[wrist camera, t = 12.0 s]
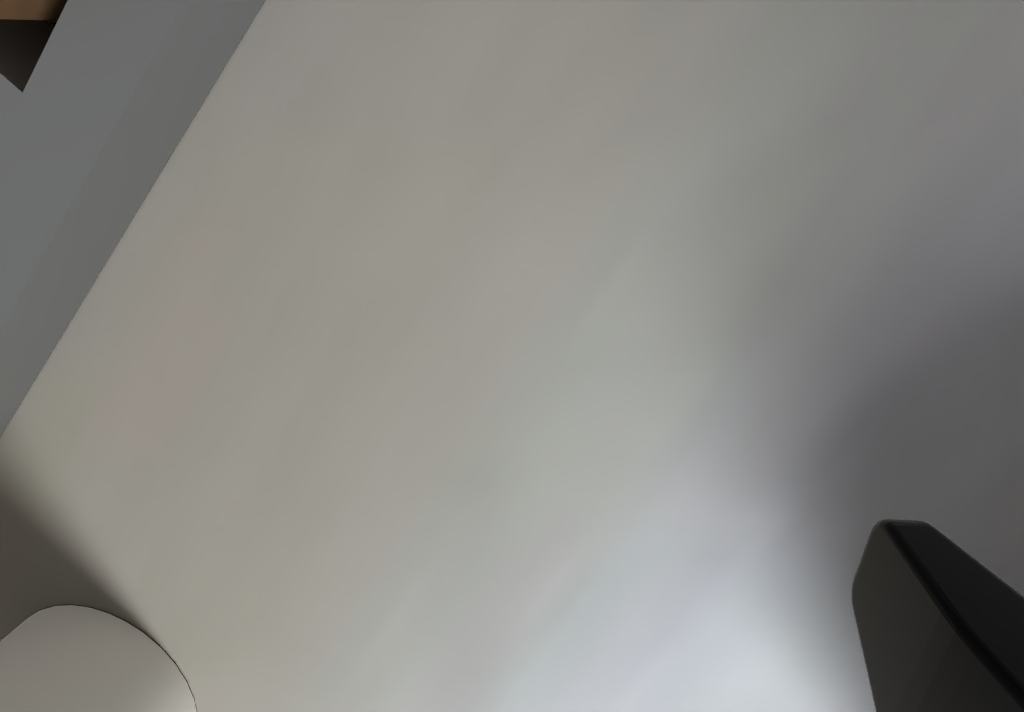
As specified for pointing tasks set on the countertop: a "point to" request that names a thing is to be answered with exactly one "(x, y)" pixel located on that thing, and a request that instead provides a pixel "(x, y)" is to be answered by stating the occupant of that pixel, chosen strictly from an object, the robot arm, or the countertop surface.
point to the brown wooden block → (31, 9)
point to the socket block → (89, 148)
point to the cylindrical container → (87, 666)
